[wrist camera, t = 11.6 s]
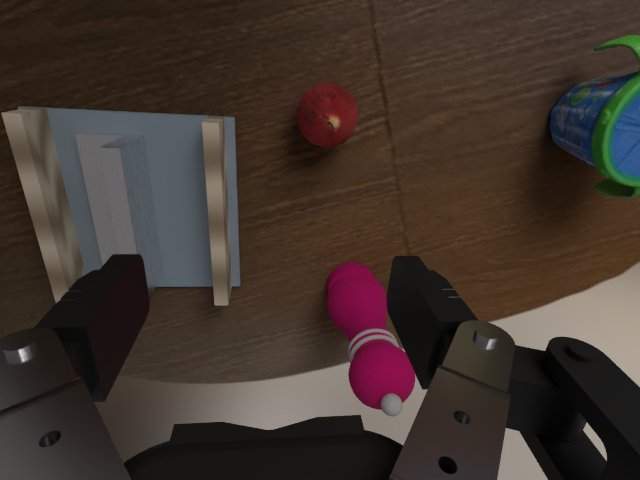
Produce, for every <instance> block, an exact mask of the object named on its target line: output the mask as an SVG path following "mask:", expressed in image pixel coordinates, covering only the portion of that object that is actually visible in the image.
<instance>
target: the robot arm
mask: <svg viewBox="0 0 640 480" xmlns="http://www.w3.org/2000/svg"><path fill="white" fill-rule="evenodd" d="M387 310H388V314H389V316H390V318H391V321H392V323H393V325H394V327H395V330H396V332H397V334H398V336H399V338H400V341H401V343H402V345H403V347H404V350H405V352H406V354H407V356H408V358H409V361H410V363H411V365H412V367H413V370H414V372H415V374H416V376H417V378H418V381H419V383H420V385H421V387H422V389H428V391H427V393H426V395H425V398H424V400H423V402H422V404H421V407H420V409H419V411H418V414H417V416H416V418H415V420H414V423H413V425H412V427H411V430H410V432H409V434H408V436H407V439H406V441H405V443H404V445H401V444H399V443H397V442H396V441H394V440H392V439H390V438H387V437H385V436H383V435H381V434H377V433H374V432H371V431H366V430H364V428H363V423H362V419H361V415H352V416H332V417H316V418H313V419H309V420H306V421H302V422H299V423H295V424H292V425H288V426H285V427H281V428H278V429H274V430H263V429H258V428H252V427H247V426H241V425H236V424H231V423H225V422H211V423H191V424H175V425H174V427H173V431H172V434H171V438H170V441H167V442H164V443H161V444H159V445H156V446H154V447H151V448H149V449H147V450H145V451H143V452H141V453H139V454H137V455H135V456H134V457H132V458H131V459H129V460H127V461H126V462H125V463H123V461H122V459H121V457H120V455H119V453H118V451H117V449H116V447H115V445H114V443H113V441H112V439H111V437H110V435H109V432H108V430H107V428H106V426H105V424H104V422H103V420H102V418H101V416H100V414H99V412H98V410H97V408H96V406H95V403H94V402H103V401H105V400H106V398H107V396H108V394H109V392H110V390H111V388H112V386H113V384H114V382H115V380H116V378H117V376H118V374H119V372H120V370H121V368H122V366H123V364H124V362H125V360H126V358H127V356H128V354H129V352H130V350H131V348H132V346H133V344H134V342H135V340H136V338H137V336H138V334H139V332H140V330H141V328H142V326H143V324H144V322H145V320H146V318H147V315H148V311H149V292H148V286H147V280H146V273H145V267H144V261H143V258H142V256H141V255H140V254H113V255H112V256H111V257H110V258H109V259H108V260H107V261H106V263H105V264H104V265H103V266H102V267H101V269H100V270H93V271H91V272H89V273H87V274H86V275H84V276H82V277H81V278H79V279H77V281H76V282H75V283H74V284H73V285H72V286H71V287H70V288H69V289H68V292H66V293H65V294H64V295H63V296H62V297H61V298H60V301H58V302H57V303H56V304H55V305H54V306H53V307H52V308H51V309H50V311H49V312H48V313H47V314H46V315H45V316H44V317H43V318H42V319H41V321H40V322H39V323H38V324H37V325H36V326H35V327H34V328H32V329H26V330H22V331H18V332H15V333H12V334H9V335H7V336H5V337H3V338H1V339H0V480H497V476H498V470H499V464H500V458H501V452H502V446H503V440H504V434H505V428H509V429H513V430H517V431H520V433H521V435H522V436H523V438H524V440H525V441H526V443H527V445H528V447H529V448H530V450H531V452H532V453H533V455H534V457H535V458H536V460H537V462H538V463H539V465H540V467H541V468H542V470H543V472H544V473H545V475H546V477H547V478H548V480H640V387H639V386H638V385H636V383H634V382H633V381H632V380H631V379H630V378H629V377H628V376H627V375H626V374H625V373H624V372H623V371H622V370H621V369H620V368H619V367H618V366H617V365H616V364H615V363H614V362H613V361H612V360H611V359H609V358H608V357H607V356H606V355H605V354H604V353H603V352H601V351H600V350H599V349H597V348H595V347H594V346H592V345H590V344H588V343H586V342H583V341H580V340H578V339H574V338H569V337H556V338H553V339H551V340H550V341H549V343H548V346H547V348H546V351H541V350H536V349H531V348H526V347H521V346H516V345H515V342H514V341H513V339H512V338H511V336H510V335H509V334H508V333H507V332H505V331H504V330H503V329H501V328H499V327H497V326H496V325H493V324H491V323H488V322H484V321H479V320H478V319H477V318H476V316H475V315H474V314H473V313H472V311H471V310H470V309H469V308H468V306H467V305H466V304H465V302H464V301H463V300H462V299H461V298H459V295H458V293H457V292H456V291H455V290H453V287H452V286H451V285H450V283H449V282H448V281H447V279H446V278H444V277H443V276H441V275H440V274H438V273H437V272H435V271H434V270H428V269H427V267H426V266H425V265H424V263H423V262H422V260H421V259H420V258H419V257H418V256H395V257H394V259H393V262H392V268H391V274H390V280H389V286H388V292H387ZM586 422H587V423H588V424H589V425H590V426H591V428H592V429H593V430H594V431H595V432H596V434H597V435H598V436H599V438H600V439H601V440H602V442H603V444H604V446H605V449H606V452H607V461H606V460H605V459H604V457H603V456H602V455H601V453H600V452H599V451H598V449H597V448H596V447H595V446H594V444H593V443H592V442H591V441H590V439H589V438H588V436H587V435H586V434H585V433H584V431H583V429H584V427H585V424H586Z"/></svg>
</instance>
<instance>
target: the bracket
mask: <svg viewBox="0 0 640 480" xmlns="http://www.w3.org/2000/svg"><path fill="white" fill-rule="evenodd" d="M75 137H76V142H77V147H78V152H79V156H80V161H81V166H82V171H83V175H84V180H85V185H86V189H87V194H88V199H89V204H90V208H91V213H92V218H93V222H94V227H95V232H96V237H97V241H98V246H99V251H100V256H101V260H102V265H104V264H105V263H106V261H107V260H108V259H109V258H110V257H111V256H112V255H113V254H140V255H141V256H142V258H143V261H144V267H145V273H146V280H147V286H148V292H149V299H150V297H151V295H152V293H153V291H154V289H155V287H156V285H157V283H158V281H159V280H160V278H161V276H162V274H163V267H162V259H161V252H160V244H159V237H158V229H157V222H156V215H155V207H154V200H153V192H152V185H151V177H150V170H149V162H148V155H147V147H146V140H145V134H130V133H107V132H84V131H80V132H77V133H75Z"/></svg>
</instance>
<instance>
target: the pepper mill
mask: <svg viewBox="0 0 640 480" xmlns="http://www.w3.org/2000/svg"><path fill="white" fill-rule="evenodd" d="M327 291H328V297H327V310H328V312H329V315H330V318H331V319H332V321H333V322H334V324H335V325H336V326H337V327H338V328H339V329H340V330H341V331H343V332H344V333H345V334H346V335H347V337H348V339H349V342H350V344H349V347H348V355H349V358H350V363H351V365H350V368H349V382H350V385H351V388H352V389H353V392H354V394H355V395H356V397H357V398H358V399H359V400H360V401H361V402H362V403H363V404H365V405H367V406H369V407H371V408H375V409H381V410H383V412H384V413H385V414H387V415H389V416H396V415H398V414H399V413H400V412H401V410H402V403H403V402H404V401H405V400H406V399H407V398H408V397H409V395H410V394H411V392H412V390H413V388H414V383H415V372H414V370H413V367H412V365H411V363H410V361H409V358H408V356H407V354H406V353H405V352H404V351H403V350H401V349H400V348H399V345H398V344H397V341H396V339H395V337H394V336H393V335H392V334H391V333H390V332H388V331H387V328H386V317H387V313H388V310H387V296H386V292H385V290H384V288H383V286H382V285H381V284H380V283H379V282H378V281H377V280H376V279H375V278H374V276H373V274H372V272H371V270H370V269H369V268H367V267H366V266H364V265H362V264H359V263H346V264H343V265H341V266H339V267H337V268H336V269H335V270H334V271H333V272H332V273H331V274H330V276H329V277H328V280H327Z"/></svg>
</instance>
